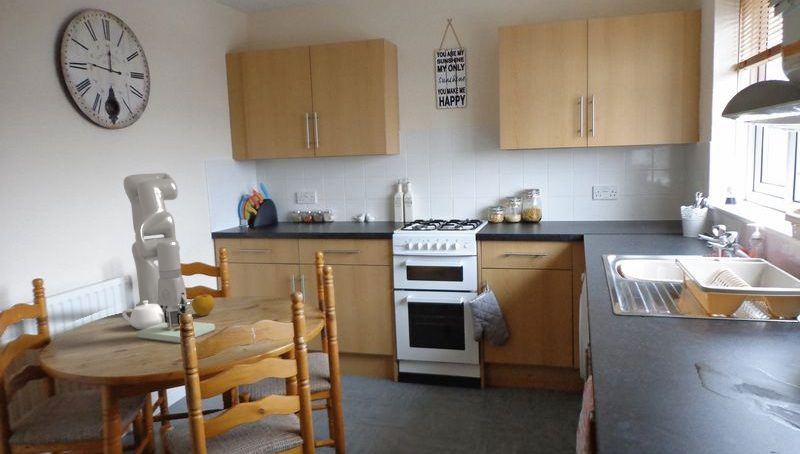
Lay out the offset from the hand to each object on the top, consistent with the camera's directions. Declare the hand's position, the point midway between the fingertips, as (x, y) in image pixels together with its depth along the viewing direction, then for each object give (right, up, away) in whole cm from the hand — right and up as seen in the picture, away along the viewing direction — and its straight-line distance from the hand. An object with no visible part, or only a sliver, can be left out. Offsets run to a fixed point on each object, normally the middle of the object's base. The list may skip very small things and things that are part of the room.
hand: (175, 322), depth 211 cm
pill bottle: (0, -2, 0) cm, 2 cm away
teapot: (-16, -4, +14) cm, 21 cm away
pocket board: (0, -5, +1) cm, 5 cm away
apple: (+2, -2, +25) cm, 25 cm away
